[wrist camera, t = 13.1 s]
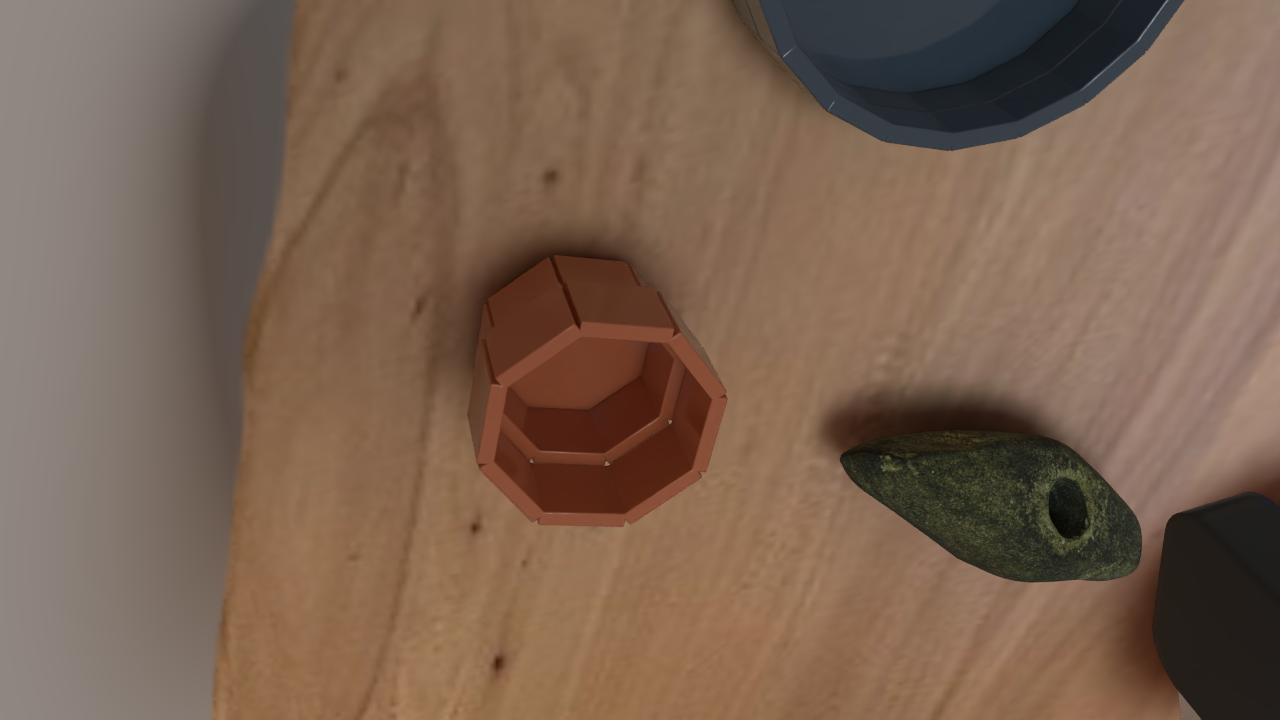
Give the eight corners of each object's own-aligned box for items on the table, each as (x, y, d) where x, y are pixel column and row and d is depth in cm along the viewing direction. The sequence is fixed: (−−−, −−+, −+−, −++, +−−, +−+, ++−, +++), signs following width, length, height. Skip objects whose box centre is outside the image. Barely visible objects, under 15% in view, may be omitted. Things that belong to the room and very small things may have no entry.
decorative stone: (1132, 347, 40) (1227, 431, 36) (1092, 522, 44) (1173, 615, 40) (822, 396, 38) (884, 491, 34) (810, 574, 42) (864, 678, 38)
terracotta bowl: (447, 417, 35) (465, 524, 31) (478, 225, 32) (502, 315, 28) (648, 427, 37) (690, 529, 33) (694, 247, 34) (747, 334, 30)
